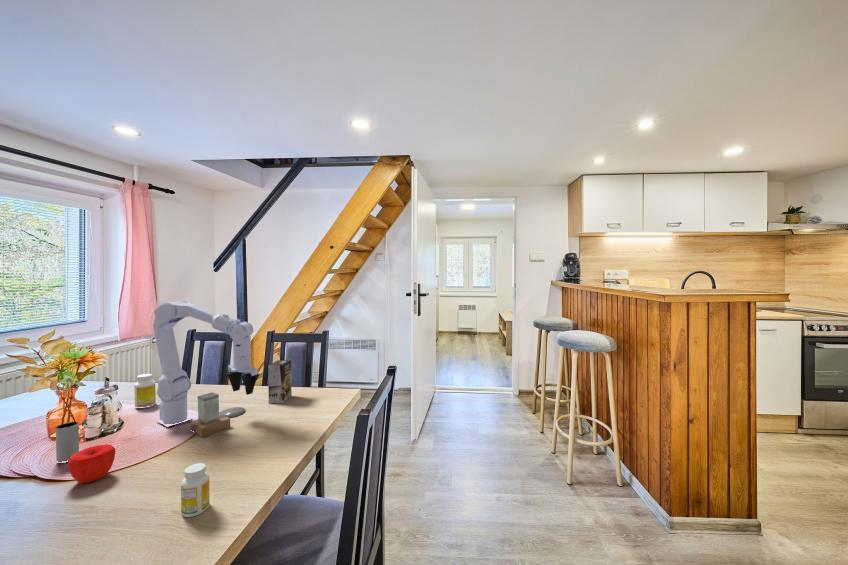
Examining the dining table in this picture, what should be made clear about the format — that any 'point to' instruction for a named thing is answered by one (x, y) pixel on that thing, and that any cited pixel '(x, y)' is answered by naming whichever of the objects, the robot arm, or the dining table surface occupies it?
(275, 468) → the dining table surface
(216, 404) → the tea tin
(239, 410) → the slate coaster
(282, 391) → the coffee box
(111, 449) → the apple
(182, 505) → the supplement bottle
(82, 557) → the dining table surface
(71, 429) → the grey tin can
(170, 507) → the dining table surface
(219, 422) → the tan flat square block
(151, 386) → the supplement bottle
